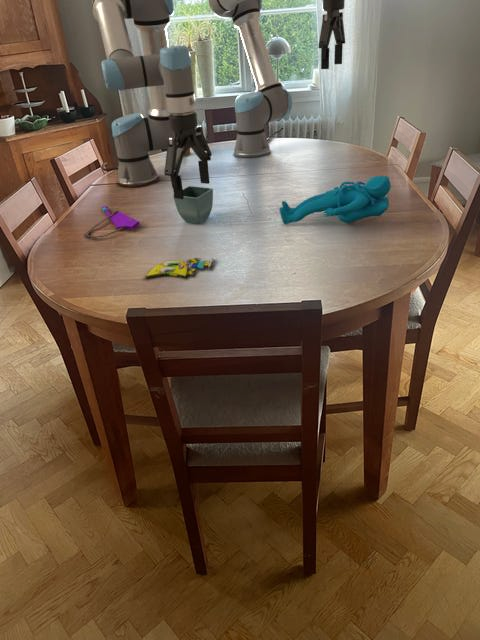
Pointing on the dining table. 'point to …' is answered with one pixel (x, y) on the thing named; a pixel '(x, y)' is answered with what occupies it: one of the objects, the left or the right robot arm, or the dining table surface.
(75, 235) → the dining table surface
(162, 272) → the toy
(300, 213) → the toy
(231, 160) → the dining table surface
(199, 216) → the green square planter
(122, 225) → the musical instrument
